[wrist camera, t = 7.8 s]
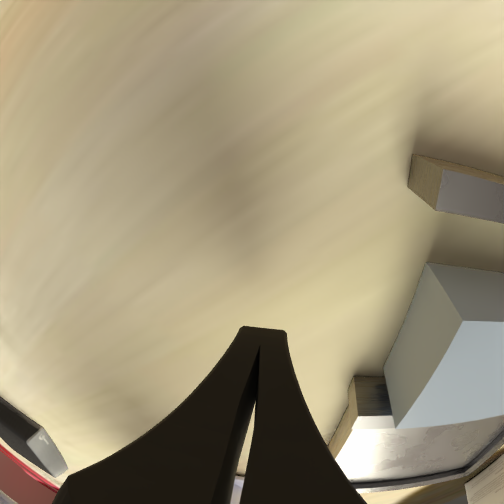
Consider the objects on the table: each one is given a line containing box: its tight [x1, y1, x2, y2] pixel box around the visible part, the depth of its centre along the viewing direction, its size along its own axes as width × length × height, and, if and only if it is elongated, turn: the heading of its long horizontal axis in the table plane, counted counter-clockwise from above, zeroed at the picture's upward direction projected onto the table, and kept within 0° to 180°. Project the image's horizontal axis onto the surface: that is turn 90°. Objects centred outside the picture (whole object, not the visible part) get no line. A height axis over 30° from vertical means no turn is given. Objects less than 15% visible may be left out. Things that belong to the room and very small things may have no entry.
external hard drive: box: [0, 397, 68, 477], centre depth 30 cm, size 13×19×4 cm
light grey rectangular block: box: [383, 262, 504, 429], centre depth 10 cm, size 6×10×4 cm, turn 87°
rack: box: [328, 154, 504, 493], centre depth 12 cm, size 23×14×3 cm, turn 178°
